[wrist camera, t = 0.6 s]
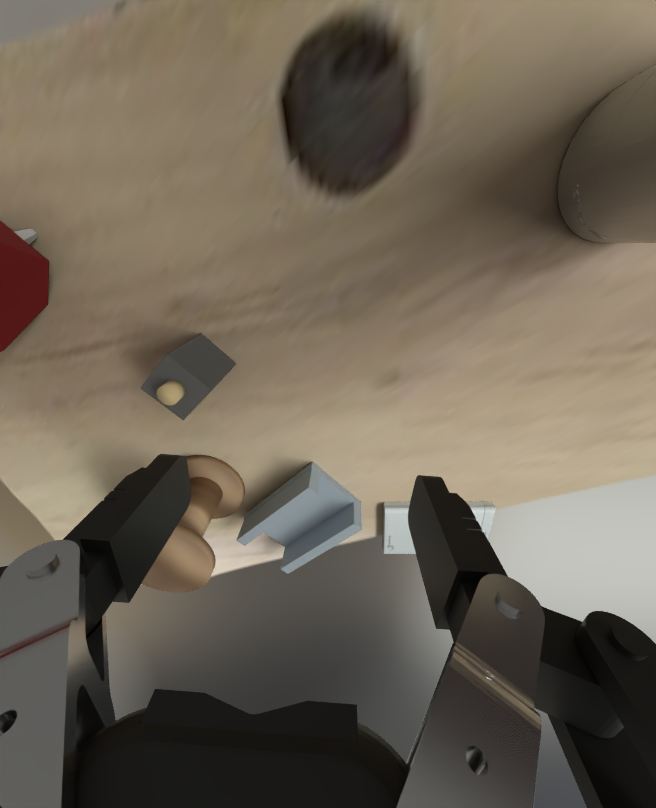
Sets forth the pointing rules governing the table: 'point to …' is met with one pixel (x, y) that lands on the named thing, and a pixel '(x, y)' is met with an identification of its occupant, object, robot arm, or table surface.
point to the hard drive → (398, 528)
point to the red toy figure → (20, 282)
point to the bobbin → (197, 527)
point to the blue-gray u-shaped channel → (304, 517)
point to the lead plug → (188, 375)
